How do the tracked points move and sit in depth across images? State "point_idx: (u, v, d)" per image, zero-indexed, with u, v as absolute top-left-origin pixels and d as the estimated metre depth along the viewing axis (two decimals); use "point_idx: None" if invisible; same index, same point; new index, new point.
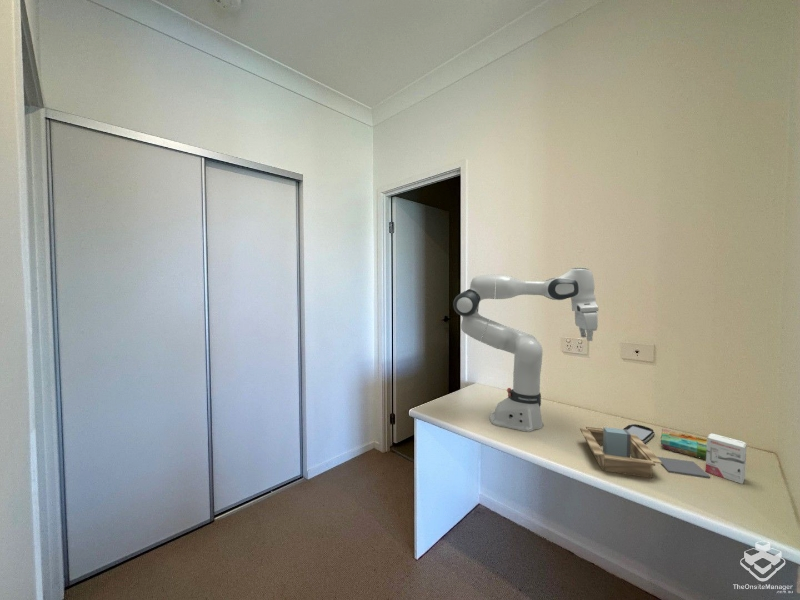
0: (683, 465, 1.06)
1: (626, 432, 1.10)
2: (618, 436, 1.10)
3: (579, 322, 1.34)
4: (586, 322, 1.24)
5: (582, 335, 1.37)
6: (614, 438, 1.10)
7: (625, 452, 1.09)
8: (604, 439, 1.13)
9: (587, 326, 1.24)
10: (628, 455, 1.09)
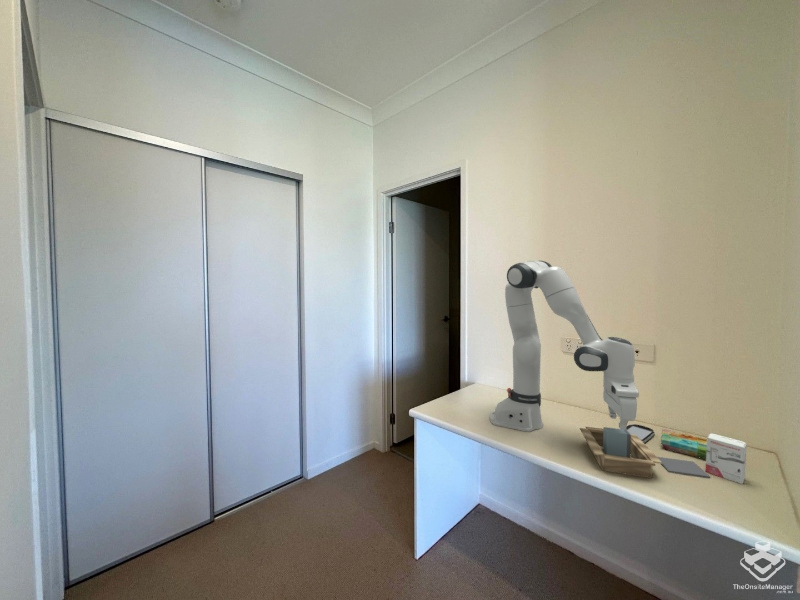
0: (683, 465, 1.06)
1: (626, 432, 1.10)
2: (618, 436, 1.10)
3: (610, 401, 1.13)
4: (622, 410, 1.02)
5: (611, 415, 1.15)
6: (614, 438, 1.10)
7: (625, 452, 1.09)
8: (604, 439, 1.13)
9: (623, 415, 1.02)
10: (628, 455, 1.09)
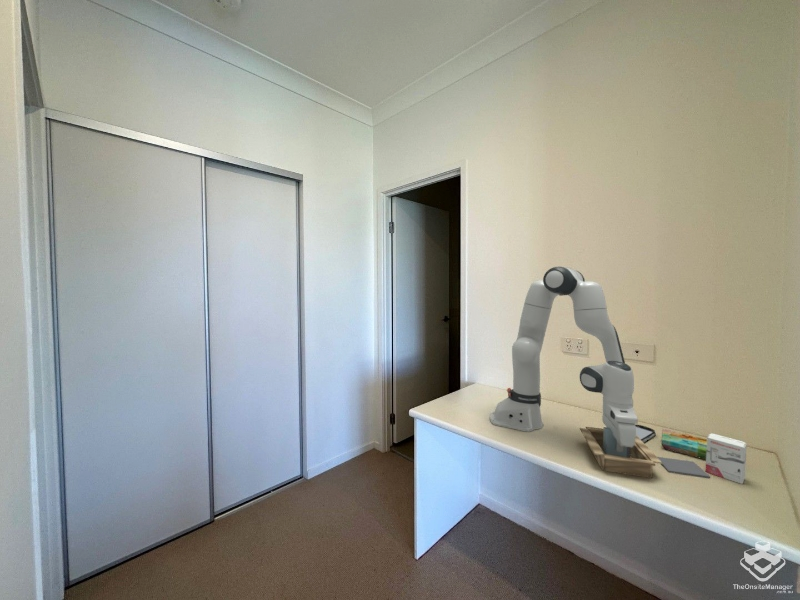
0: (683, 465, 1.06)
1: None
2: None
3: (609, 425, 1.13)
4: (621, 436, 1.02)
5: None
6: (614, 438, 1.10)
7: (625, 452, 1.09)
8: (604, 439, 1.13)
9: (622, 441, 1.02)
10: (628, 455, 1.09)
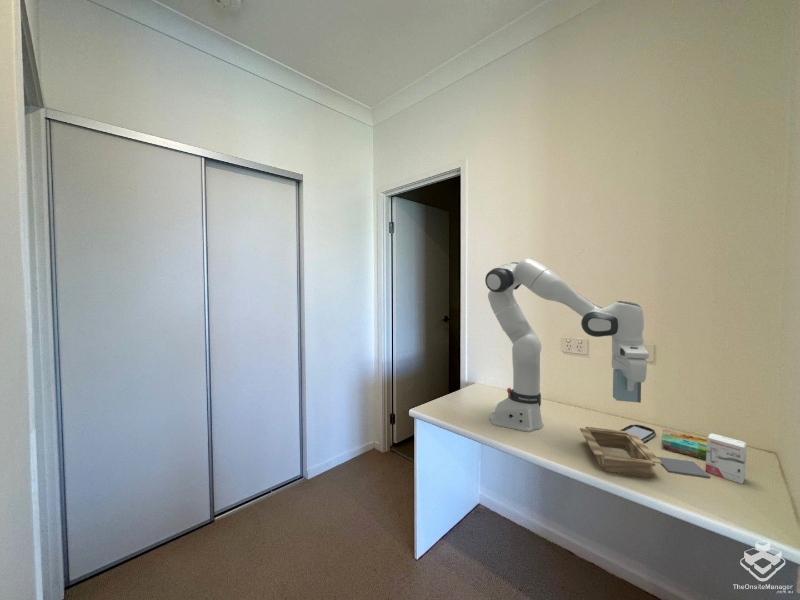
0: (683, 465, 1.06)
1: None
2: None
3: (619, 366, 1.11)
4: (632, 371, 1.01)
5: None
6: (624, 378, 1.08)
7: (636, 391, 1.07)
8: (614, 381, 1.11)
9: (633, 376, 1.01)
10: (639, 394, 1.07)
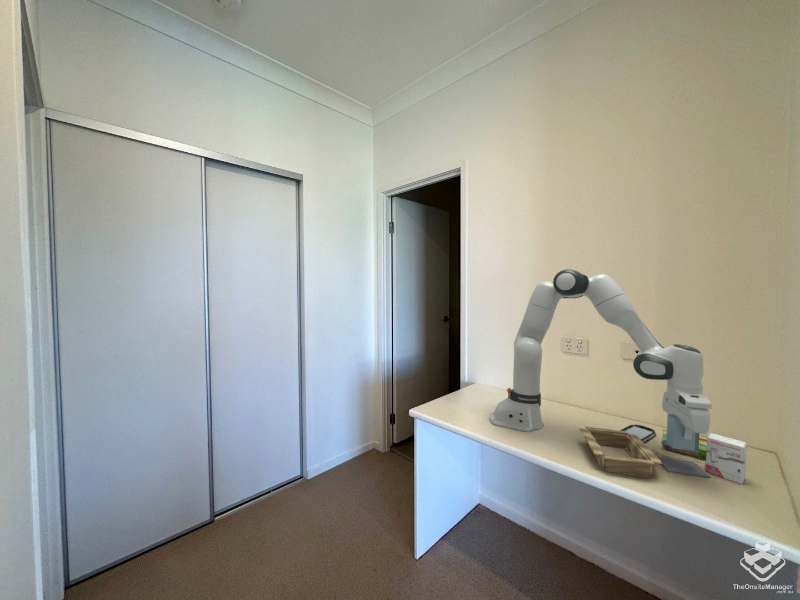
0: (683, 465, 1.06)
1: None
2: None
3: (674, 412, 1.07)
4: (694, 422, 0.97)
5: None
6: (681, 425, 1.04)
7: (693, 440, 1.03)
8: (669, 426, 1.07)
9: (695, 427, 0.97)
10: (697, 443, 1.03)
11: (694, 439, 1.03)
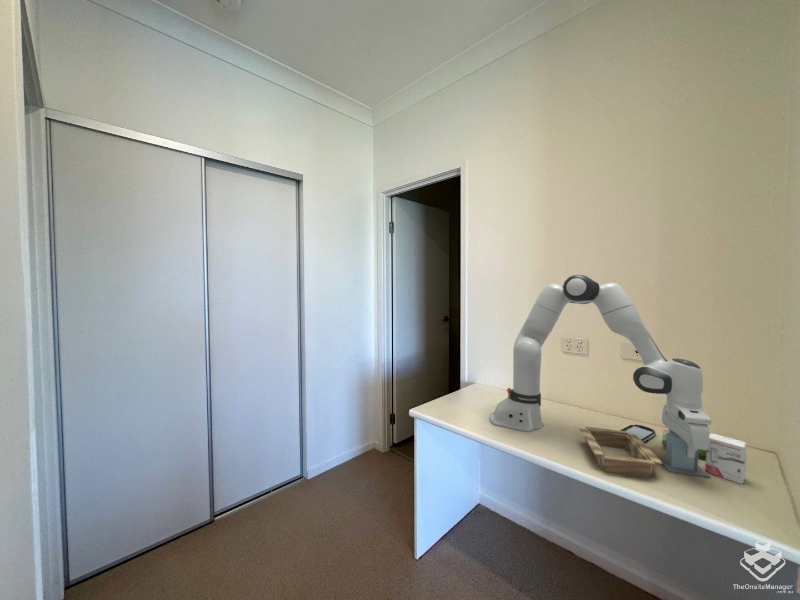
0: None
1: None
2: (685, 442, 1.04)
3: (673, 426, 1.08)
4: (693, 438, 0.97)
5: None
6: (680, 444, 1.04)
7: (692, 459, 1.04)
8: (668, 445, 1.08)
9: (694, 443, 0.97)
10: (696, 462, 1.03)
11: (693, 458, 1.04)
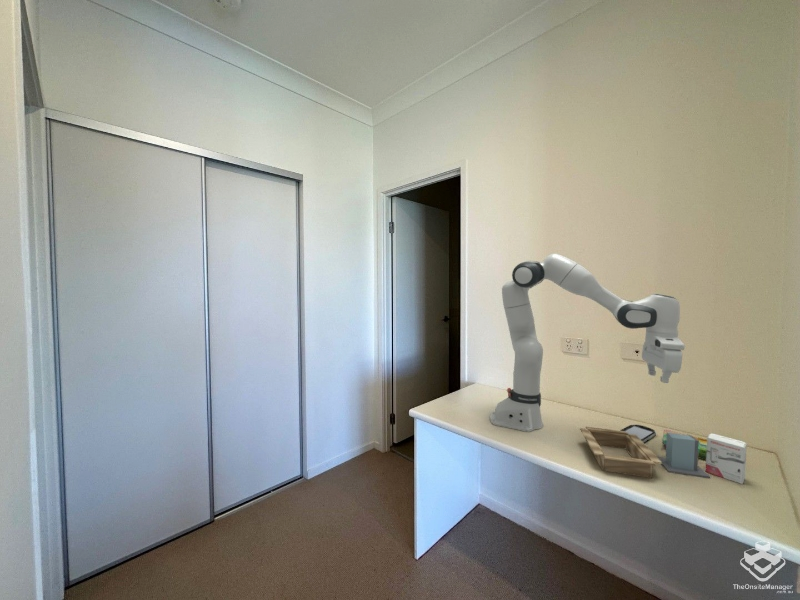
0: None
1: (693, 438, 1.05)
2: (685, 442, 1.04)
3: (651, 358, 1.14)
4: (667, 361, 1.04)
5: (651, 372, 1.17)
6: (680, 444, 1.04)
7: (692, 459, 1.04)
8: (668, 445, 1.08)
9: (668, 366, 1.04)
10: (696, 462, 1.03)
11: (693, 458, 1.04)
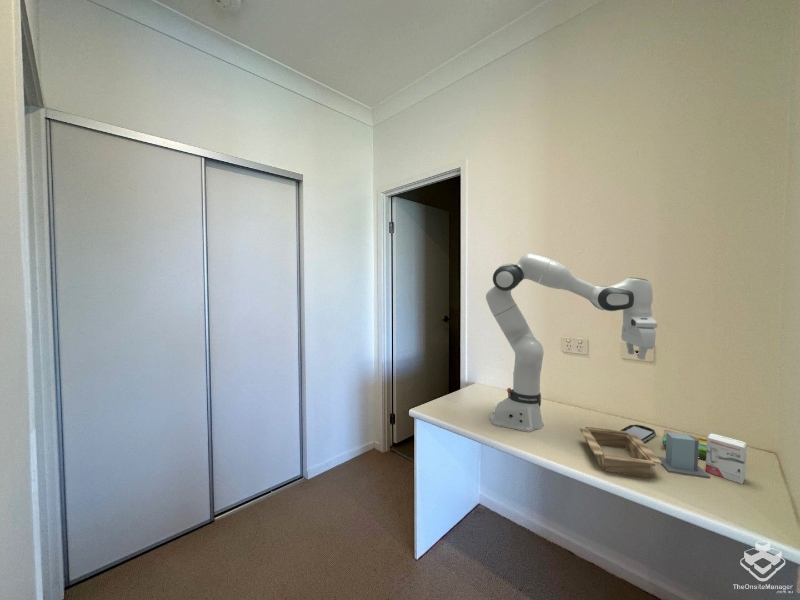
0: None
1: (693, 438, 1.05)
2: (685, 442, 1.04)
3: (629, 337, 1.22)
4: (642, 339, 1.12)
5: (630, 351, 1.25)
6: (680, 444, 1.04)
7: (692, 459, 1.04)
8: (668, 445, 1.08)
9: (643, 343, 1.12)
10: (696, 462, 1.03)
11: (693, 458, 1.04)
